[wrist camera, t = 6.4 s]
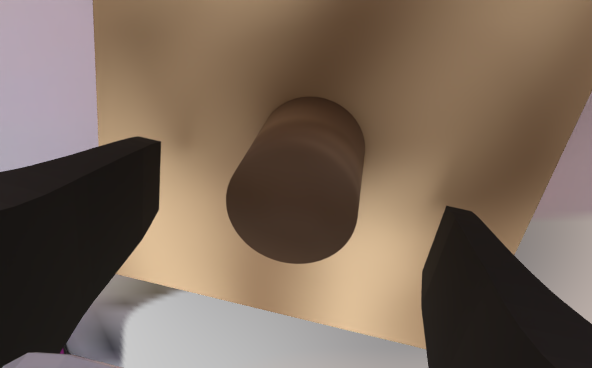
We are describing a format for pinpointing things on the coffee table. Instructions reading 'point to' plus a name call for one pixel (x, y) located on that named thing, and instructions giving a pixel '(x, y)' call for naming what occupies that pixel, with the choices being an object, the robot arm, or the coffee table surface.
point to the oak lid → (336, 139)
